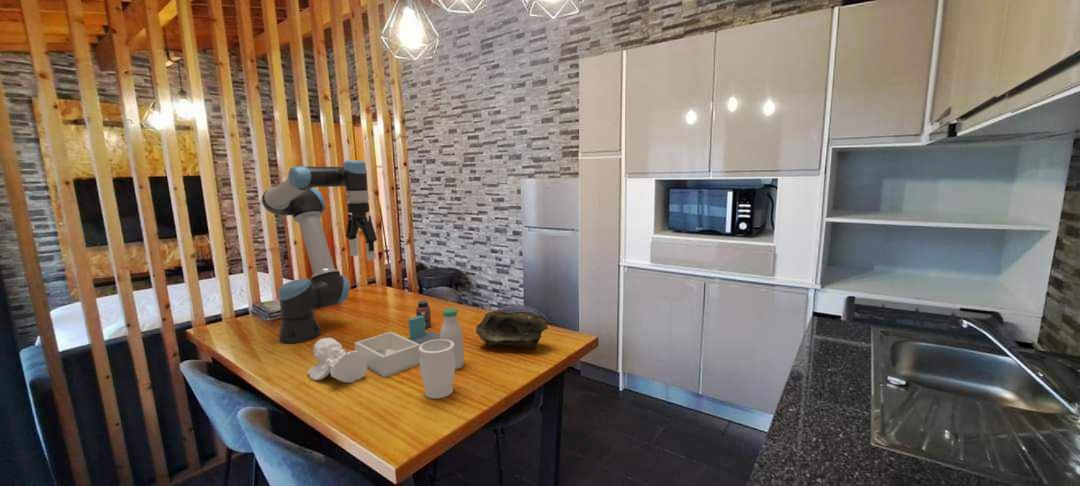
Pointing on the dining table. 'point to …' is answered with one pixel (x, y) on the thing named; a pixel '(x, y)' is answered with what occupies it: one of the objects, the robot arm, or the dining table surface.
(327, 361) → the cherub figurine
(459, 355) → the milk bottle
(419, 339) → the lid
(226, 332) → the dining table surface
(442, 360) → the jar
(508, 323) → the hollow geode rock
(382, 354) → the steel nut
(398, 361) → the tub
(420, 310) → the supplement bottle
